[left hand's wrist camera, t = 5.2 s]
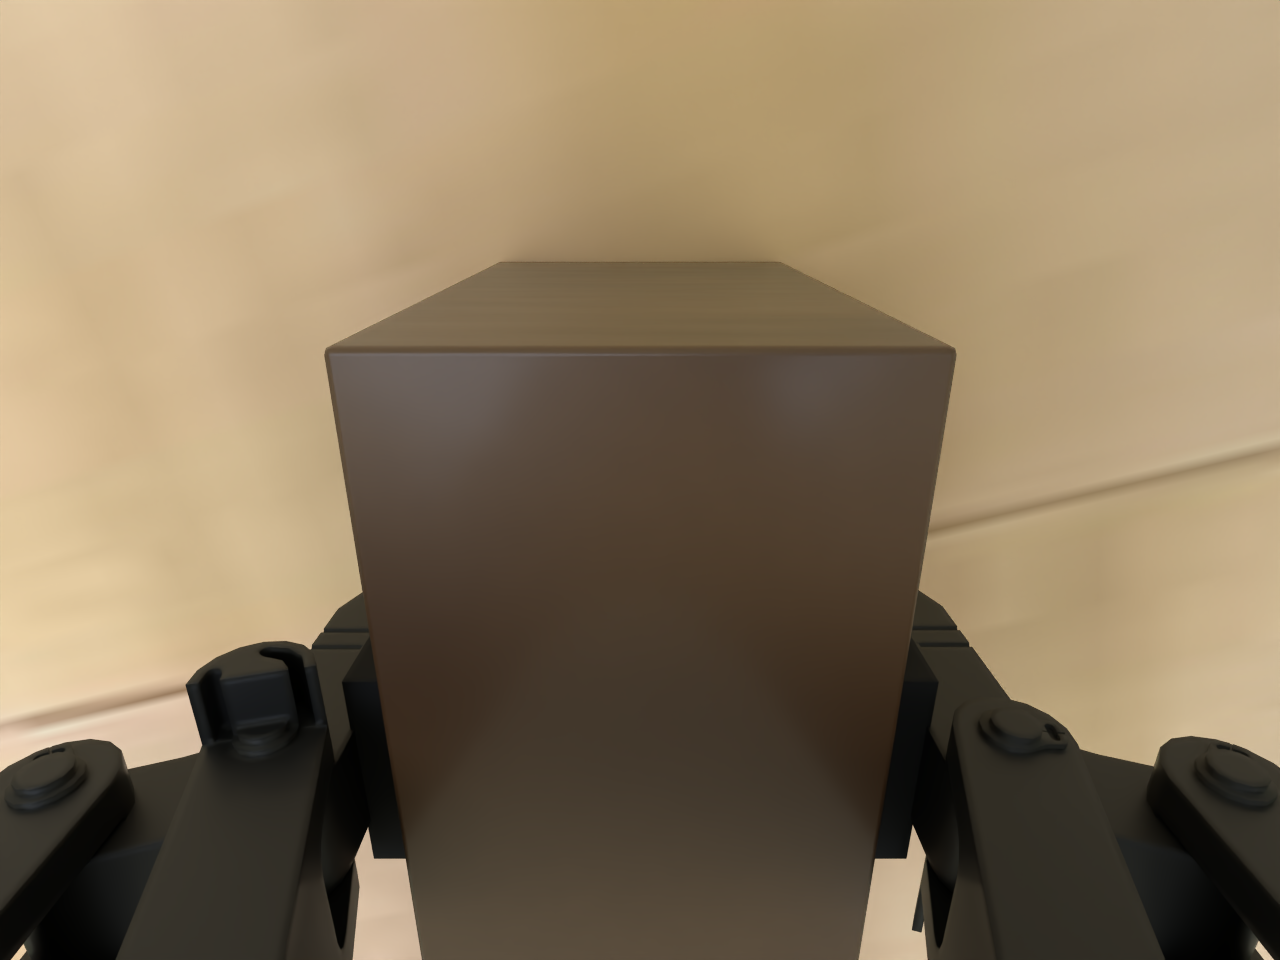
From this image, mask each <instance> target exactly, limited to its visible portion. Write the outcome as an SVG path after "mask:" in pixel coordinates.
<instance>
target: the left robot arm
mask: <svg viewBox="0 0 1280 960" xmlns="http://www.w3.org/2000/svg"><path fill="white" fill-rule="evenodd" d="M186 688H187V692H188V695H189V699H190V703H191V706H192V710H193V713H194V717H195V720H196V724H197V728H198V731H199V735H200V738H201V742H202V747H201V750H200V752H199V753H197V754H193V755H190V756H186V757H182V758H178V759H173V760H169V761H164V762H159V763H155V764H150V765H146V766H141V767H136V768H132V769H127V766H126V763H125V760H124V757H123V754H122V751H121V750H120V749H119V748H118V747H116V746H115V745H114V744H113V743H111V742H109V741H101V740H94V739H87V740H80V741H73V742H66V743H62V744H59V745H55V746H52V747H50V748H49V747H48V748H45V749H43V750H40V751H37V752H35V753H33V754H31V755H30V756H28V757H26V758H24V759H22V760H20V761H18V762H16V763H14V764H12V765H10V766H8V767H7V768H6V769H4V770H3V771H2V772H0V960H11V959H12V957H13V956H14V955H15V954H16V952H17V951H18V950H19V949H20V947H21V946H22V945H23V944H24V946H25V948H26V950H27V951H26V953H25V954H24V955H23V957H22V958H21V959H20V960H352V959H353V949H354V938H355V928H356V918H357V907H358V897H359V880H358V874H357V868H356V863H355V856H356V854H357V852H358V849H359V847H360V845H361V842H362V840H363V838H364V835H365V833H366V831H367V828H369V834H370V839H371V844H372V850H373V855H374V859H406V857H405V851H404V844H403V838H402V832H401V826H400V820H399V813H398V807H397V801H396V795H395V789H394V782H393V776H392V770H391V764H390V758H389V752H388V745H387V739H386V733H385V727H384V721H383V714H382V708H381V702H380V696H379V690H378V683H377V677H376V671H375V665H374V659H373V652H372V646H371V640H370V634H369V628H368V622H367V615H366V609H365V603H364V597H363V592H362V593H361V594H359V595H358V596H356V597H355V598H354V599H352V600H351V601H349V602H348V603H346V604H345V605H343V606H342V607H340V608H339V609H338V610H337V611H336V613H335V614H334V615H333V617H332V618H331V620H330V621H329V622H328V624H327V625H326V626H325V628H324V633H320V635H319V636H318V638H317V639H316V640H315V642H314V643H313V644H312V649H308V648H307V647H306V646H304V645H301V644H297V643H292V642H288V641H276V642H262V643H257V644H253V645H249V646H245V647H240V648H238V649H235V650H233V651H231V652H228V653H226V654H223V655H221V656H219V657H216V658H215V659H213V660H212V661H210V662H209V663H208V664H206V665H205V666H203V667H202V668H200V669H199V670H197V671H196V673H195V674H194V675H193V676H192V678H191V679H190V680H189V681H188V683H187V684H186ZM912 825H913V826H914V828H915V831H916V833H917V835H918V837H919V840H920V842H921V844H922V847H923V849H924V851H925V854H926V858H925V863H924V868H923V873H922V879H921V884H920V889H919V894H918V899H917V904H916V909H915V914H914V920H913V926H912V930H914V931H918V932H922V927H923V922H924V926H925V937H926V947H927V957H928V960H1264V959H1263V958H1262V957H1261V955H1260V954H1259V953H1258V952H1257V950H1256V949H1255V947H1256V945H1257V943H1258V941H1260V943H1261V944H1262V945H1263V946H1264V948H1265V949H1266V950H1267V951H1268V953H1269V954H1270V955H1271V956H1272V958H1273V959H1274V960H1280V768H1279V767H1278V766H1277V765H1275V764H1274V763H1272V762H1270V761H1268V760H1266V759H1264V758H1262V757H1260V756H1258V755H1256V754H1254V753H1252V752H1250V751H1249V750H1247V749H1244V748H1242V747H1239V746H1236V745H1234V744H1233V745H1232V744H1230V743H1227V742H1223V741H1219V740H1216V739H1209V738H1201V737H1194V736H1188V737H1180V738H1173V739H1170V740H1169V741H1168V742H1166V743H1165V744H1164V745H1163V746H1161V747H1160V750H1159V753H1158V756H1157V759H1156V762H1155V765H1154V767H1153V766H1149V765H1144V764H1140V763H1135V762H1130V761H1126V760H1121V759H1117V758H1112V757H1107V756H1103V755H1098V754H1095V753H1091V752H1088V751H1084V750H1080V749H1079V746H1078V744H1077V743H1076V741H1075V740H1074V738H1073V737H1072V735H1071V734H1070V732H1069V731H1068V730H1067V728H1065V727H1064V726H1063V725H1061V724H1060V723H1059V722H1058V721H1056V720H1055V719H1054V718H1053V717H1051V716H1050V715H1049V714H1046V713H1044V712H1042V711H1040V710H1038V709H1036V708H1034V707H1032V706H1030V705H1028V704H1025V703H1021V702H1017V701H1013V700H1010V698H1009V697H1008V695H1007V694H1006V693H1005V691H1004V690H1003V689H1002V687H1001V686H1000V684H999V683H998V682H997V680H996V679H995V678H994V676H993V675H992V674H991V672H990V671H989V669H988V668H987V667H986V665H985V664H984V663H983V661H982V660H981V658H980V657H979V656H978V654H977V653H976V652H975V650H974V649H973V647H969V642H968V641H967V639H966V638H965V637H964V635H963V634H962V632H961V631H960V630H957V626H956V624H955V623H954V621H953V620H952V619H951V617H950V616H949V615H948V613H947V612H946V611H945V609H944V608H943V606H941V605H940V604H938V603H937V602H935V601H934V600H932V599H931V598H929V597H928V596H926V595H925V594H923V593H922V592H920V591H919V590H918V595H917V601H916V607H915V613H914V620H913V626H912V632H911V638H910V644H909V651H908V657H907V663H906V669H905V675H904V681H903V688H902V694H901V700H900V706H899V712H898V718H897V725H896V731H895V737H894V743H893V749H892V755H891V762H890V768H889V774H888V780H887V786H886V792H885V799H884V805H883V811H882V817H881V823H880V830H879V836H878V842H877V848H876V854H875V859H906V858H907V852H908V847H909V842H910V836H911V831H912Z"/></svg>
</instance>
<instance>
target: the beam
mask: <svg viewBox="0 0 1280 960" xmlns="http://www.w3.org/2000/svg"><path fill="white" fill-rule="evenodd" d="M955 360H956V351H955V348H953V347H951V346H949V345H947V344H945V343H943V342H941V341H939V340H937V339H935V338H933V337H931V336H929V335H927V334H925V333H923V332H921V331H919V330H917V329H915V328H913V327H911V326H909V325H907V324H905V323H903V322H901V321H899V320H897V319H894V318H892V317H890V316H888V315H886V314H884V313H882V312H880V311H878V310H876V309H874V308H872V307H870V306H868V305H866V304H864V303H862V302H860V301H858V300H856V299H854V298H852V297H850V296H848V295H846V294H844V293H842V292H840V291H838V290H836V289H834V288H832V287H830V286H828V285H826V284H824V283H822V282H820V281H817V280H815V279H813V278H811V277H809V276H807V275H805V274H803V273H801V272H799V271H797V270H795V269H793V268H791V267H789V266H787V265H785V264H783V263H781V262H500V263H497V264H495V265H493V266H491V267H489V268H487V269H485V270H483V271H481V272H479V273H477V274H475V275H473V276H471V277H469V278H467V279H465V280H463V281H461V282H459V283H457V284H455V285H453V286H451V287H449V288H447V289H445V290H443V291H441V292H439V293H437V294H435V295H433V296H431V297H429V298H427V299H425V300H423V301H421V302H419V303H417V304H414V305H412V306H410V307H408V308H406V309H404V310H402V311H400V312H398V313H396V314H394V315H392V316H390V317H388V318H386V319H384V320H382V321H380V322H378V323H376V324H374V325H372V326H370V327H368V328H366V329H364V330H362V331H360V332H358V333H356V334H354V335H352V336H350V337H348V338H346V339H344V340H342V341H340V342H338V343H336V344H334V345H332V346H330V347H328V348H326V350H325V362H326V368H327V374H328V380H329V386H330V392H331V399H332V405H333V411H334V417H335V423H336V430H337V436H338V442H339V448H340V454H341V461H342V467H343V473H344V479H345V485H346V492H347V498H348V504H349V510H350V516H351V522H352V529H353V535H354V541H355V547H356V553H357V560H358V566H359V572H360V578H361V584H362V591H363V597H364V603H365V609H366V615H367V622H368V628H369V634H370V640H371V646H372V652H373V659H374V665H375V671H376V677H377V683H378V690H379V696H380V702H381V708H382V714H383V721H384V727H385V733H386V739H387V745H388V752H389V758H390V764H391V770H392V776H393V782H394V789H395V795H396V801H397V807H398V813H399V820H400V826H401V832H402V838H403V844H404V851H405V857H406V863H407V869H408V875H409V882H410V888H411V894H412V900H413V906H414V913H415V919H416V925H417V931H418V937H419V943H420V950H421V956H422V960H858V959H859V953H860V947H861V941H862V934H863V928H864V922H865V916H866V910H867V904H868V897H869V891H870V885H871V879H872V873H873V867H874V860H875V854H876V848H877V842H878V836H879V830H880V823H881V817H882V811H883V805H884V799H885V792H886V786H887V780H888V774H889V768H890V762H891V755H892V749H893V743H894V737H895V731H896V725H897V718H898V712H899V706H900V700H901V694H902V688H903V681H904V675H905V669H906V663H907V657H908V651H909V644H910V638H911V632H912V626H913V620H914V613H915V607H916V601H917V595H918V589H919V583H920V576H921V570H922V564H923V558H924V552H925V546H926V539H927V533H928V527H929V521H930V515H931V509H932V502H933V496H934V490H935V484H936V478H937V471H938V465H939V459H940V453H941V447H942V441H943V434H944V428H945V422H946V416H947V410H948V404H949V397H950V391H951V385H952V379H953V373H954V367H955Z"/></svg>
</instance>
